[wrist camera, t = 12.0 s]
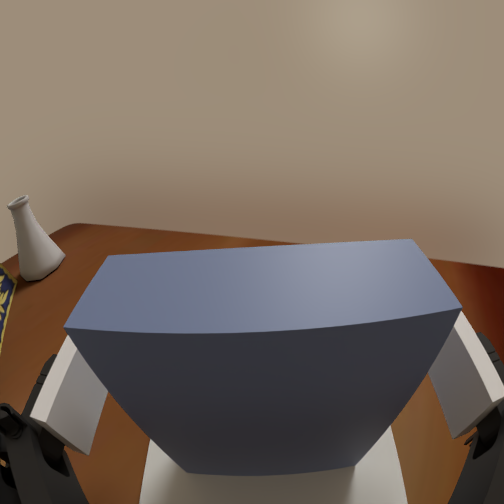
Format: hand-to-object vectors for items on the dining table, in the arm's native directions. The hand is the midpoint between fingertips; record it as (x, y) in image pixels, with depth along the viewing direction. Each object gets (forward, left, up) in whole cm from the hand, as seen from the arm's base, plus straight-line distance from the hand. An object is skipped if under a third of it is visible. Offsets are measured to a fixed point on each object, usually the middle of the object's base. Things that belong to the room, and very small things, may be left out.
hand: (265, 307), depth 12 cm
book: (+2, -3, -8) cm, 9 cm away
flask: (-34, 0, -9) cm, 35 cm away
